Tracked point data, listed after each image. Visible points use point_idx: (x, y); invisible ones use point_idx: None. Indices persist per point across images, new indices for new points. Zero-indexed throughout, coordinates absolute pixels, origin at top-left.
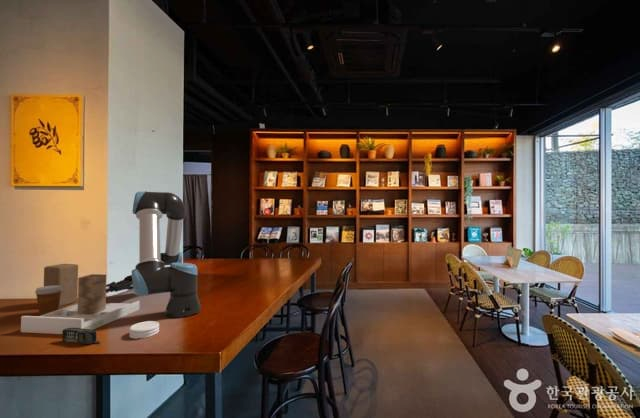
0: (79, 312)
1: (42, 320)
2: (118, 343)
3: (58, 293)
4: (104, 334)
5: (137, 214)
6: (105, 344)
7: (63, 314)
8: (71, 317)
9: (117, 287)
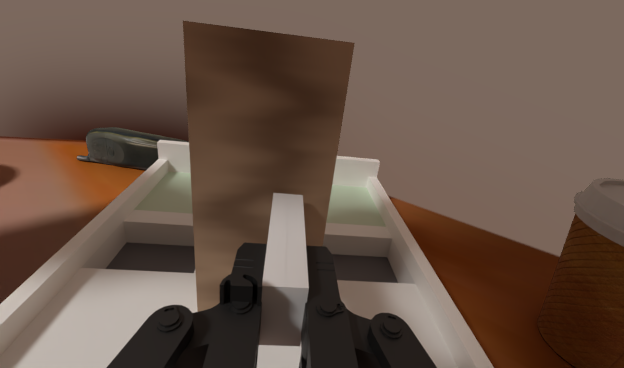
0: None
1: None
2: (21, 158)
3: (605, 250)
4: (85, 187)
5: None
6: (60, 157)
7: (404, 277)
8: None
9: (146, 339)
